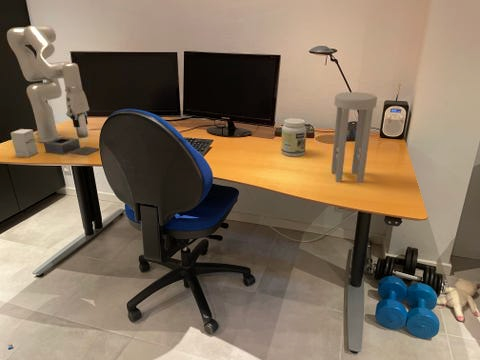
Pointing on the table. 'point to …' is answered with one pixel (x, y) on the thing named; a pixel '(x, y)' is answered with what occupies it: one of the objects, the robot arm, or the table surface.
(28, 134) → the supplement box
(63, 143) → the housing
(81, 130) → the cover plug
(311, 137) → the table surface
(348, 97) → the stool
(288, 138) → the supplement tub
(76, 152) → the mat
